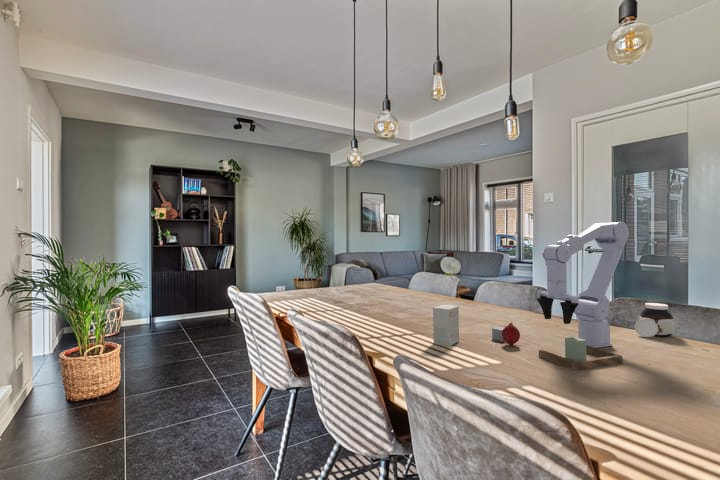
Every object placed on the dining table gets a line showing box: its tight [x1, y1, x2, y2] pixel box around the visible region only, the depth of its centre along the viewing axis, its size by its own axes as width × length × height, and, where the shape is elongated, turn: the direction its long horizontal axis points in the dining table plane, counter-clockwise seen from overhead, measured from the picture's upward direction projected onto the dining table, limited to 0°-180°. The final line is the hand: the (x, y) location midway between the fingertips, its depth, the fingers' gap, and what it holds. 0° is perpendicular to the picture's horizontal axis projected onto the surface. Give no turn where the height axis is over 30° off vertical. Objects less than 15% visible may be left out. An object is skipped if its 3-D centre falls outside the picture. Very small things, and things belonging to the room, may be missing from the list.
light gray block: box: [491, 326, 505, 342], centre depth 135 cm, size 4×4×4 cm
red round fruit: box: [502, 321, 521, 346], centre depth 127 cm, size 6×6×8 cm
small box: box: [432, 304, 460, 347], centre depth 131 cm, size 8×6×13 cm
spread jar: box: [634, 302, 675, 338], centre depth 137 cm, size 12×11×12 cm
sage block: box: [564, 336, 587, 361], centre depth 113 cm, size 4×4×6 cm
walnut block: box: [538, 345, 623, 371], centre depth 112 cm, size 18×13×2 cm
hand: (557, 321), depth 122 cm, fingers open, 7 cm apart
